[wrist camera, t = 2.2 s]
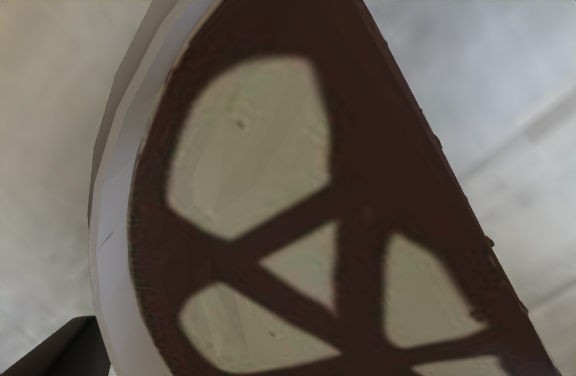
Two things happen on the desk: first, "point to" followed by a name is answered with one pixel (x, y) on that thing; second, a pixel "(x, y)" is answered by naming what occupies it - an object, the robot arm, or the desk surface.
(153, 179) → the food container
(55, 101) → the desk surface
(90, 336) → the robot arm
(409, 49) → the desk surface
